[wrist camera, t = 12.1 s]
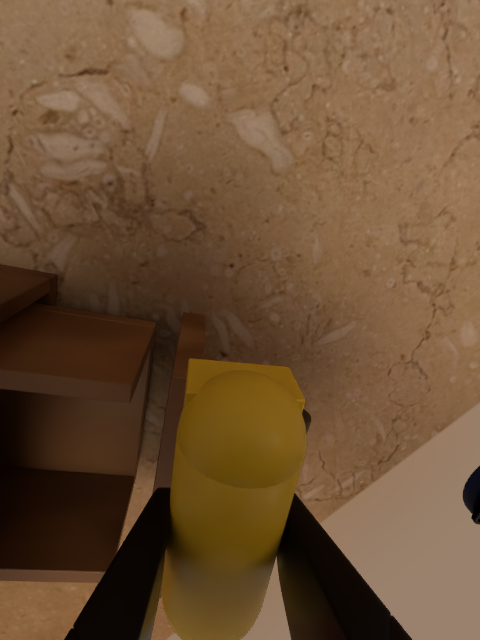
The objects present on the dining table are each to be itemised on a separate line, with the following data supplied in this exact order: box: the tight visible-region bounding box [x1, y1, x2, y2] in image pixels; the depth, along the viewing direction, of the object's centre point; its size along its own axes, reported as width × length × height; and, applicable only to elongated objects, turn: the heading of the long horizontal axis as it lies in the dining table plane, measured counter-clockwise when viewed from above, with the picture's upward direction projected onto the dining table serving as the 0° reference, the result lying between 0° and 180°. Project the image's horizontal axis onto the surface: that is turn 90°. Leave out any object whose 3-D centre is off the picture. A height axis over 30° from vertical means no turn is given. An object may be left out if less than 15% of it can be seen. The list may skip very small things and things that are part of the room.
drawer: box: [0, 303, 311, 598], centre depth 16 cm, size 19×12×7 cm, turn 78°
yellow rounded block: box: [161, 359, 307, 640], centre depth 9 cm, size 8×3×3 cm, turn 171°
